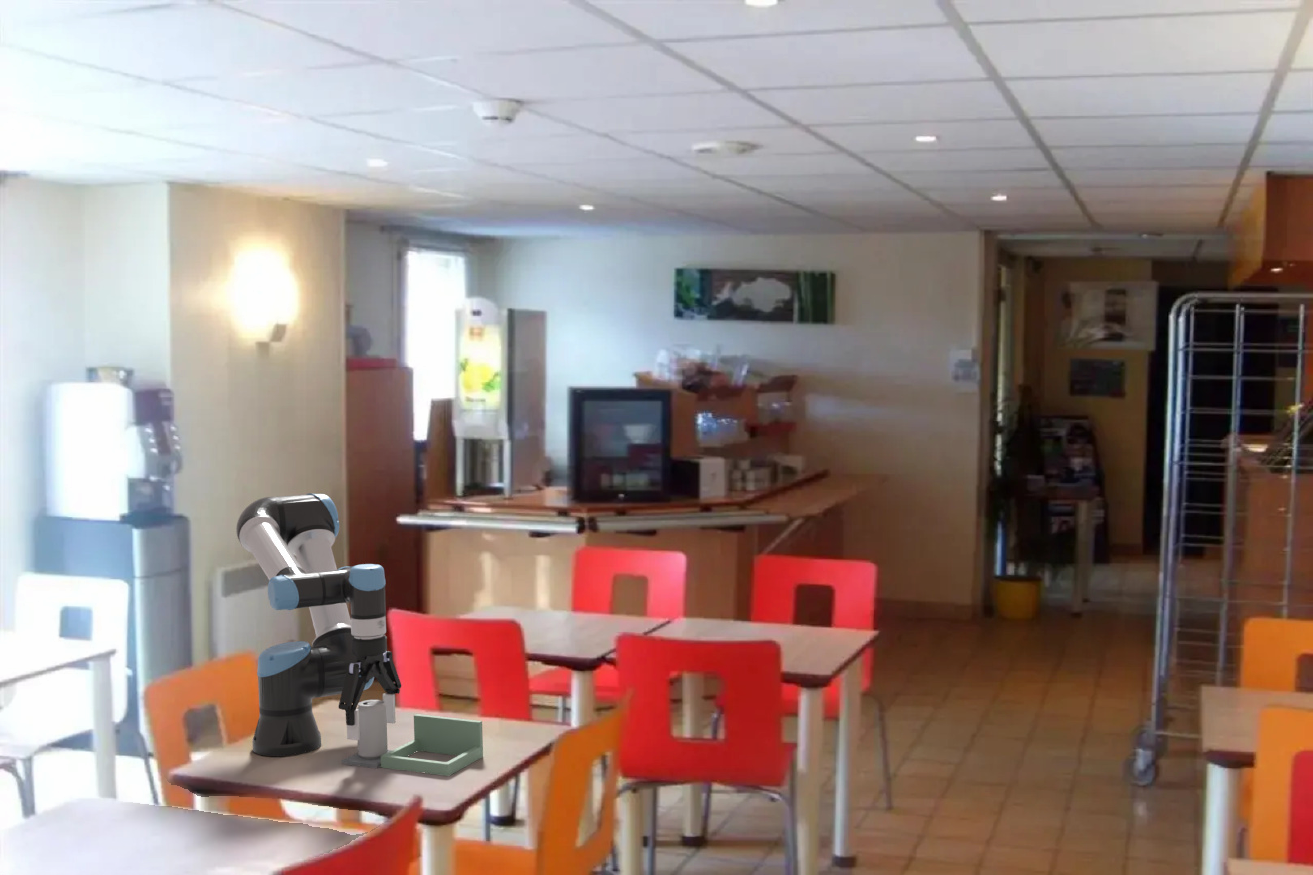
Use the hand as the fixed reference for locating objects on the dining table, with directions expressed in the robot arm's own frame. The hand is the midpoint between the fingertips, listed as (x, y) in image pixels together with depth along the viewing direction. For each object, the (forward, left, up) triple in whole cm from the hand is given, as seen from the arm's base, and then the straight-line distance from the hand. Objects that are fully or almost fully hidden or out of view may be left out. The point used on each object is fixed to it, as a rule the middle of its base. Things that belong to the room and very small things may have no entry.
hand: (371, 731), depth 297 cm
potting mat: (0, 0, -6) cm, 6 cm away
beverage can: (0, 0, -6) cm, 6 cm away
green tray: (+14, +3, -6) cm, 15 cm away
